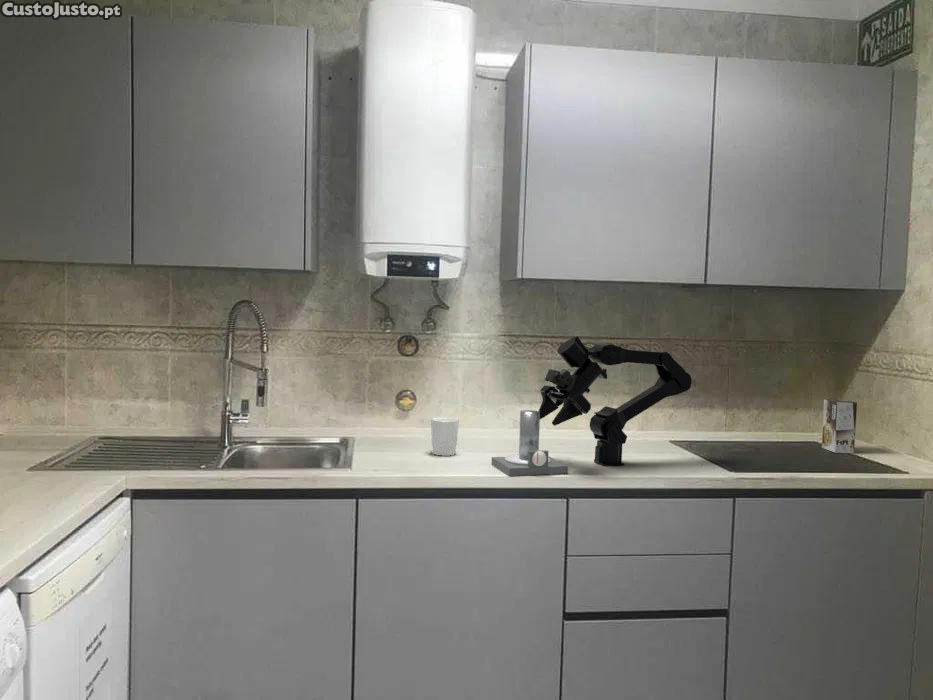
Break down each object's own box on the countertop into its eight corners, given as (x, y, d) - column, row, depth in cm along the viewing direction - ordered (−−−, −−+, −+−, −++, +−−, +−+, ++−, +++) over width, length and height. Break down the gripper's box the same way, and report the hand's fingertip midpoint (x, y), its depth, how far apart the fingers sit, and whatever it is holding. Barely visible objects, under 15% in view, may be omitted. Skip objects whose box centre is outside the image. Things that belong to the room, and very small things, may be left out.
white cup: (433, 457, 204) (434, 421, 204) (427, 451, 212) (428, 417, 212) (460, 456, 207) (461, 421, 206) (453, 450, 214) (454, 417, 214)
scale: (546, 462, 201) (547, 440, 201) (567, 473, 188) (568, 450, 187) (491, 464, 197) (492, 442, 196) (509, 476, 183) (510, 452, 183)
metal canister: (529, 455, 197) (530, 409, 196) (542, 459, 193) (544, 411, 192) (514, 457, 194) (516, 410, 193) (528, 461, 190) (529, 413, 189)
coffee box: (855, 453, 228) (858, 402, 227) (834, 453, 228) (837, 401, 227) (840, 448, 237) (843, 398, 236) (820, 447, 237) (823, 398, 236)
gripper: (547, 356, 204) (510, 397, 200) (581, 361, 187) (542, 406, 183) (571, 383, 207) (535, 424, 204) (607, 391, 190) (569, 435, 187)
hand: (544, 421), depth 194 cm, fingers open, 9 cm apart
